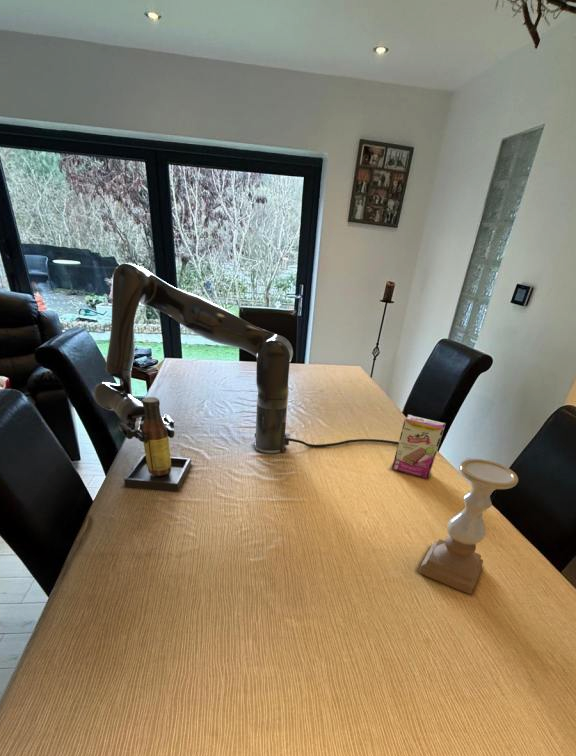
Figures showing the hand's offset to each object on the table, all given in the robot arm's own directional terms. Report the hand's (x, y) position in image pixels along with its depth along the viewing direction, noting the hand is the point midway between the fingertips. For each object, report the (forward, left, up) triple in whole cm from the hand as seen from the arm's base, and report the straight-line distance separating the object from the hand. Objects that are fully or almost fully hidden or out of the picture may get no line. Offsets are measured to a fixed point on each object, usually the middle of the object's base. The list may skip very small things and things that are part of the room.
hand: (159, 436), depth 104 cm
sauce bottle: (+2, -2, -11) cm, 11 cm away
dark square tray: (+1, -2, -12) cm, 12 cm away
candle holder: (-70, +27, -12) cm, 76 cm away
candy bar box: (-71, -18, -12) cm, 74 cm away
